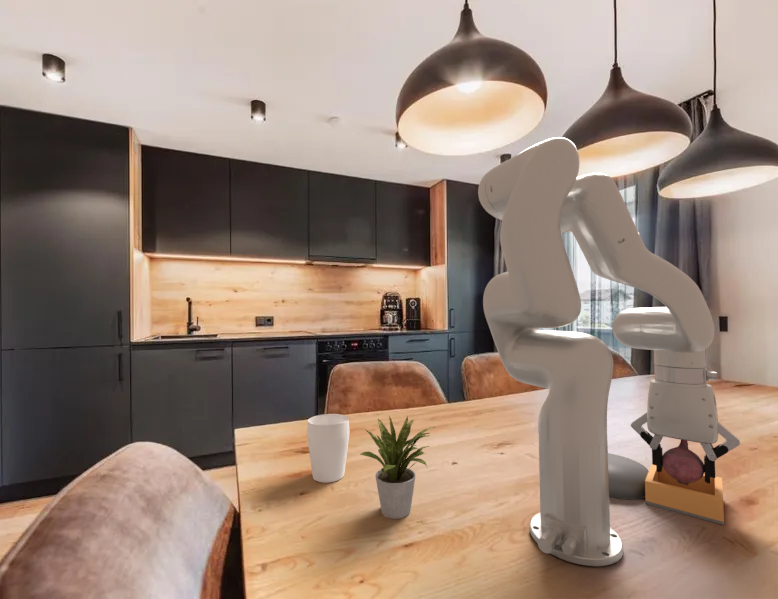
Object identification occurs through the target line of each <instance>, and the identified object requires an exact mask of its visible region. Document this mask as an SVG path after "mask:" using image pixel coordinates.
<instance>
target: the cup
mask: <svg viewBox="0 0 778 599" xmlns="http://www.w3.org/2000/svg"><path fill="white" fill-rule="evenodd" d="M349 420H350V419H349V416H347V415H345V414H340V413H326V414H325V413H324V414H318V415H315V416H314V415H313V416H311V417H310V418H308V420H307V428H306V429H307V430H306V438H307V444H308V452H309V460H310V466H311V472H312V473H311V474H312V475H311V476H312V478H313V480H314V481H317V482H319V483H325V484H326V483H327V484H328V483H334V482H338V481H339V480H341V479H342V478H343V477H344V476H345V471H346V463H347V455H348V449H349V448H348V447H349V441H350V434H351V432H350V421H349Z"/></svg>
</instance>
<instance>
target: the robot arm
mask: <svg viewBox="0 0 778 599" xmlns="http://www.w3.org/2000/svg"><path fill="white" fill-rule="evenodd" d="M579 172H580V155H579V151H578V148H577V146H576V145H575V143H574V142H573V141H572V140H570V139H569V138H566V137H563V136H561V137H560V136H558V137H551V138H548V139H545V140H543V141H540V142H538V143H535V144H533V145H532V146H530V147H527V148H526V149H524V150H522V151H521V152H519V153H517V154H515V155H514V156H512V157H511V158H509V159H508V160H507V159H506V160H505V161H503V162H502V163H500V164H498V165H496V166H495V167H493V168H491V169H489V171H487V172H486V173H485V174H484V175H483V177H482V178H481V180H480V181H479V184H478V189H477V194H478V201H479V202H480V205H481V206H482V208H483V209H484V210H485V212H486V213H488V214H489V215H491V216H492V217H493V218H495V219H498V220H500V221H501V223H500V230H499V231H500V232H499V241H500V242H499V243H500V247H501V251H502V256H503V259H504V263H505V266H506V271H505V272H502V273H499V274H497V275H495V276H493V277H492V278H491V279H490V280H489V281H488V283H487V284H486V287H485V288H484V292H483V297H482V298H483V299H482V305H483V308H482V309H483V313H484V317H485V319H486V322H487V325H488V328H489V330H490V331H489V332H490V333H491V336H492V339H493V342H494V345H495V347H496V350H497V353H498V355H499V358H500V361H501V363H502V366H503V367H504V369H505V370H506V372H507V373H508V375H509V376H510V377H511V378H513V379H514V380H515V381H517V382H519V383H522V384H527V385H531V386H535V387H539V388H544V389H546V390H549V391H548V395H547V396H546V399H545V401H544V402H543V404H542V406H541V408H540V410H539V412H538V419H537V420H538V421H537V428H538V429H537V434H538V457H539V458H538V463H539V464H538V466H539V467H538V468H539V470H538V471H539V473H538V474H539V504H540V505H539V508H540V511H539V512H538V513H536V514H535V515H533V517H532V518H531V519H530V522H529V530H530V535H531V537H532V538H533V540H534V541H535V543H537V546H538V548H539V550H540V551H541V552H542V553H545V554H551V555H553V556H555V557H557V558H559V559H561V560H564V561H566V562H568V563H572V564H576V565H582V566H586V567H588V566H589V567H606V566H609V565H613V564H615V563H617V562H619V561H620V560H621V559H622V557H623V555H624V544H623V540H622V539H621V537H620V535H619V534H618V533H617V532H616V531H615V530H614V529H612V527H611V517H610V510H611V509H610V497H609V475H608V453H609V451H608V450H609V445H608V444H609V442H608V404H609V403H608V402H609V395H610V388H611V385H612V379H613V375H614V374H613V373H614V358H613V354H612V351H611V350H610V348H609V347H608V345H607V344H606V343H605V341H604V340H603V341H602V340H601V339H600V338H599V337H597V336H594V335H592V334H589V333H585V332H582V331H581V332H580V331H574V330H573V331H571V330H570V331H569V330H552V329H557V328H562V327H566V326H569V325H571V324H573V323H574V322H575V321H577V319H578V318H579V316H580V314H581V311H582V299H581V295H580V294H581V293H580V291H579V287H578V285H577V282H576V279H575V275H574V272H573V269H572V265H571V263H570V260H569V259H570V258H569V256H568V253H567V250H566V246H565V243H564V240H563V236H562V234H563V233H564V234H565V233H569V232H571V233H572V235H573V236H574V238H575V240H576V242H577V244H578V246H579V248H580V251H581V252H582V254H583V255H584V258H585V260H586V262H587V264H588V266H589V268H590V271H592V272H593V273H594V274H595V275H596V276H598V277H601V278H603V279H606V280H609V281H611V282H614V283H615V282H616V283H618V284H622V285H625V286H627V287H632V288H634V289H637V290H640V291H642V292H644V293H646V294H648V295H649V296H652V297H653V298H655V299H657V300H658V301H659V302H660V303H662V304H663V305H664V306H652V307H648V306H647V307H633V308H632V307H631V308H626V309H624V310H622V311H621V312H619V313H618V314H617V315H616V316H615V318H614V320H613V322H612V325H611V326H612V327H611V329H612V334H613V336H614V339H616V341H617V342H618V343H620V344H621V345H623V346H626V347H628V348H631V349H637V350H650V351H653V361H654V362H653V365H654V367H653V368H654V378H653V379H650V381H649V382H650V383H649V386H648V387H649V388H648V392H647V394H648V395H647V407H646V412H645V413H644V414H642V415H641V416H640V417H637V418H636V419H635V420H633V421H632V422H631V424H630V427H631V428H632V429H633V430H634V431H635V432H636V434H638V435H639V436H640V437H641V439H642V440H643V441H645V443H646V444H647V445H649V448H650V449H651V458H652V459H651V464H653V465H656V468H657V472H662V469H663V465H662V456H663V454H664V452H663V447H662V446H661V442H662V439H663V438H670V439H674V440H675V439H676V440H680V441H681V440H686V441H687V442H692V443H699V444H700V445H701V448H702V449H703V451H704V454H705V455H704V457H703V463H704V474H705V482H706V483H709V484H710V477H712V478H715V476H716V461H717V459H720V458H721V457H723V456H725V454H728V453H729V452H730V451H733V450H734V449H736V448H737V447H739V446H740V445H741V441H740V439H739V438H738V437H737V436H735V434H733V433H732V432H731V431H730V430H729V429H727V428H726V427H725V426H724V425H723V424H721V423H720V422H719V417H718V409H717V407H718V406H717V401H716V400H717V399H716V395H715V391H714V387H713V386H712V385H711V384H708V383H707V382H709V381H713V380H714V381H716V380H718V372H716V371H712V370H709V369H707V365H706V364H707V363H706V362H707V361H706V360H707V358H706V356H707V355H706V349H707V348H709V347H710V346H711V344H712V343H713V341H714V337H715V324H714V320H713V319H714V318H713V317H712V314H711V311H710V308H709V307H708V304H707V302H706V299H705V296H704V294H703V293H702V290H701V289H700V287H699V285H698V284H697V283H696V282H695V281H694V280H693V279H692V278H691V277H690V276H689V275H688V274H686V273H685V272H684V271H682V270H681V269H679V268H678V267H677V266H675V265H674V264H672V263H671V262H669V261H667V260H666V259H664V258H663V257H661V256H659V255H657V254H655V253H652V251H650V250H649V249H648V248H647V247H646V245H645V244H644V242H643V241H644V240H643V238H642V237H641V235H640V232H639V230H638V229H637V227H636V225H635V222H634V219H633V218H632V216H631V214H630V211H629V209H628V207H627V204H626V203H625V200H624V198H623V196H622V194H621V192H620V190H619V188H618V186H617V184H616V182H615V180H614V179H613V177H611V176H609V175H608V174H605V173H602V172H592V173H587V174H582V175H580V176H579ZM543 329H546V330H543ZM547 329H548V330H547ZM549 329H551V330H549ZM645 424H647V425H646V426H647V427H646V428H647V430H648V431H649V432H648V431H647V430H646V429H645V427H643V426H644V425H645ZM650 433H651V434H650ZM652 434H653V435H652ZM719 435H721V436H722V438H723V439H725V441H724V442H722V443H720V444H717V445H716V446H715V447H714V445H713V444H715V443H717V442H718V440H719Z"/></svg>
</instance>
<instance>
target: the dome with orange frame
mask: <svg viewBox="0 0 778 599" xmlns="http://www.w3.org/2000/svg"><path fill="white" fill-rule="evenodd" d="M608 475H609V498H612V497H613V499H618V498H619V500H620V499H621V500H638V498H639V499H643V498H645V504H647V505H649V506H654V507H657V508H661V509H664V510H668V511H672V512H675V513H678V514H682V515H686V516H690V517H693V518H696V519H697V518H698V519H701V520H704V521H708V522H711V523H715V524H719V525H722V526H725V517H724V516H725V513H724V512H725V511H724V494H723V493H724V491H723V477H720V476H717V475H715V478H712V477H710V484H709V483H706V482H705V473H704V475H703V476H702V478H701V479H699V480H698V481H696V482H693V483H689V485H685V484H681V483H679V482H677V480H676V479H674V478H672V477H671V476H670V475H669V474H668V473H667V472H666V471H665V469H664V467H663V469H662V472H657V468H656V465H653V464H652V463H651V465H650V467H649V469H648V468H647V467H646V466H645V465H644V464H642V463H640V462H638V461H636V460H633V459H631V458H629V457H625V456H622V455H619V454H613V453H609V452H608ZM684 485H685V486H684Z"/></svg>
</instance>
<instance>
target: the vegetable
mask: <svg viewBox="0 0 778 599" xmlns="http://www.w3.org/2000/svg"><path fill="white" fill-rule="evenodd" d="M688 442H689V441H686V440H680V442H679V444H678V446H676V447H672V448H670V449H667V450H666V451H664V452H663V456H662V465H663V467H664V469H665V471H666V472H667V473H668V474H669V475H670V476H671V477H672V478H674V479H676V480H677V482H679V483H681V484H685V485H689V483H693V482H696V481H698V480H699V479H701V478H702V476H703V475H704V474H705V472H704V461H703V460H702V459H701V457H699V455H698V454H696V452H694V451H693V450H692V449H689V443H688ZM685 485H684V486H685Z"/></svg>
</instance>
